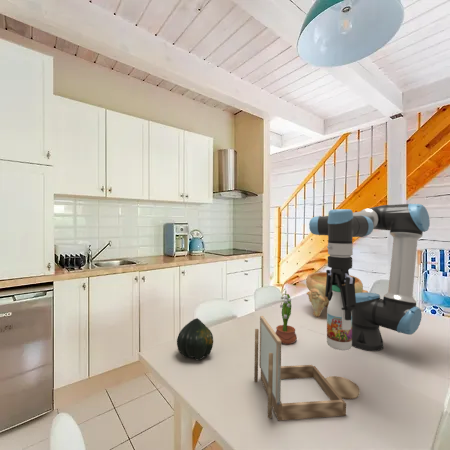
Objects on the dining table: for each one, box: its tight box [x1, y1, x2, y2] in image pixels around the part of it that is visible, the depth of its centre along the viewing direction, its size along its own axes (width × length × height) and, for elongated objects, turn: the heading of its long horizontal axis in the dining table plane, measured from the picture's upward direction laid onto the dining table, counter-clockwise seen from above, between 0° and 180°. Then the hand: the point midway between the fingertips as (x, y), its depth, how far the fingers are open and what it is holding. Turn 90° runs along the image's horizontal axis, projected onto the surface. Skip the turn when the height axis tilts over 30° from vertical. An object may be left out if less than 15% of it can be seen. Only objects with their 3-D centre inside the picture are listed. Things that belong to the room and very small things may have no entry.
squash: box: [176, 317, 214, 361], centre depth 110 cm, size 14×15×15 cm
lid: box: [258, 315, 282, 405], centre depth 84 cm, size 1×20×18 cm, turn 7°
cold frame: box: [260, 364, 347, 421], centre depth 85 cm, size 20×20×4 cm
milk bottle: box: [326, 285, 353, 351], centre depth 88 cm, size 8×8×20 cm
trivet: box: [324, 375, 361, 400], centre depth 89 cm, size 11×11×1 cm
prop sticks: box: [253, 328, 273, 419], centre depth 83 cm, size 1×18×18 cm, turn 6°
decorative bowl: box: [305, 271, 370, 318], centre depth 164 cm, size 34×35×23 cm
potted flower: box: [274, 288, 298, 345], centre depth 123 cm, size 12×10×25 cm
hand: (339, 324), depth 88 cm, fingers closed on milk bottle, 8 cm apart
